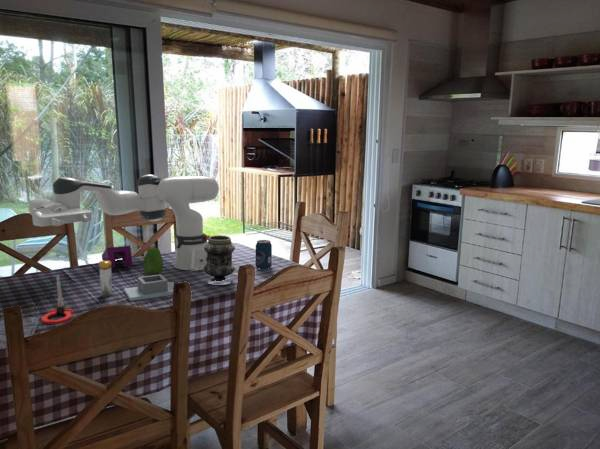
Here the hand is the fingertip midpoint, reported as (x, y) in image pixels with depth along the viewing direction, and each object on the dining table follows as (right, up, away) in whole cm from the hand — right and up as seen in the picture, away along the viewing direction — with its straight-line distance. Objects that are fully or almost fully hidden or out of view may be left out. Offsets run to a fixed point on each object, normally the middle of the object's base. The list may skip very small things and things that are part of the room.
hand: (74, 221), depth 180 cm
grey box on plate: (+30, -26, -3) cm, 40 cm away
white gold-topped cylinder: (+15, -26, -7) cm, 31 cm away
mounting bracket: (+4, -19, +32) cm, 37 cm away
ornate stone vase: (+52, -24, +11) cm, 58 cm away
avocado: (+24, -22, +16) cm, 37 cm away
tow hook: (+8, -31, -29) cm, 43 cm away
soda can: (+68, -20, +31) cm, 77 cm away
